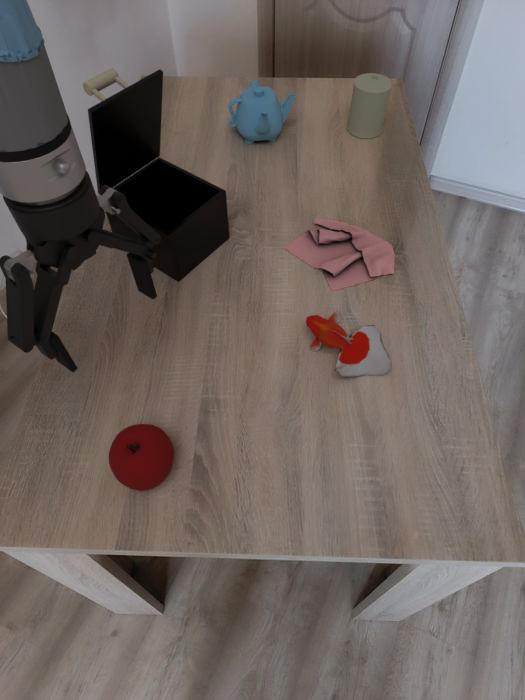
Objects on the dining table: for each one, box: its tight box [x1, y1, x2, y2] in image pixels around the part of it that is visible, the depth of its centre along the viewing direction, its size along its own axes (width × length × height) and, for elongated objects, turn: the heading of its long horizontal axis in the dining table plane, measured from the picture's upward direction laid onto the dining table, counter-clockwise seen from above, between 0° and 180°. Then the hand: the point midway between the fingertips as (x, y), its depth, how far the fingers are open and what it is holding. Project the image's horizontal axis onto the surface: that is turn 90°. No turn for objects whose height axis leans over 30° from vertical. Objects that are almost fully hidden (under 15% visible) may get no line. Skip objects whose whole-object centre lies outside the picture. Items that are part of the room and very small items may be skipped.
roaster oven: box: [105, 156, 230, 283], centre depth 94 cm, size 18×16×12 cm
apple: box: [108, 423, 175, 492], centre depth 67 cm, size 9×9×10 cm
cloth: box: [283, 217, 396, 292], centre depth 96 cm, size 20×22×2 cm
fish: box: [305, 309, 392, 379], centre depth 79 cm, size 11×16×10 cm
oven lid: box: [82, 67, 164, 195], centre depth 84 cm, size 18×16×7 cm
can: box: [346, 72, 393, 140], centre depth 117 cm, size 9×9×12 cm
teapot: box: [227, 80, 297, 145], centre depth 116 cm, size 15×14×11 cm
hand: (109, 327), depth 59 cm, fingers open, 13 cm apart
